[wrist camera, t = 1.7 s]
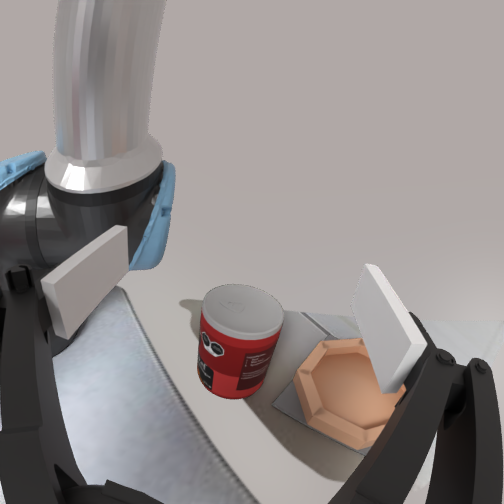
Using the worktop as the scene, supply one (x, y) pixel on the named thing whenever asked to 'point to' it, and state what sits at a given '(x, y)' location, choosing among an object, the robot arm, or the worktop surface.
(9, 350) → the robot arm
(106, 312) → the worktop surface
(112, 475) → the worktop surface
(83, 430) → the worktop surface
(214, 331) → the canned food
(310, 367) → the bowl
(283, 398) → the mat
